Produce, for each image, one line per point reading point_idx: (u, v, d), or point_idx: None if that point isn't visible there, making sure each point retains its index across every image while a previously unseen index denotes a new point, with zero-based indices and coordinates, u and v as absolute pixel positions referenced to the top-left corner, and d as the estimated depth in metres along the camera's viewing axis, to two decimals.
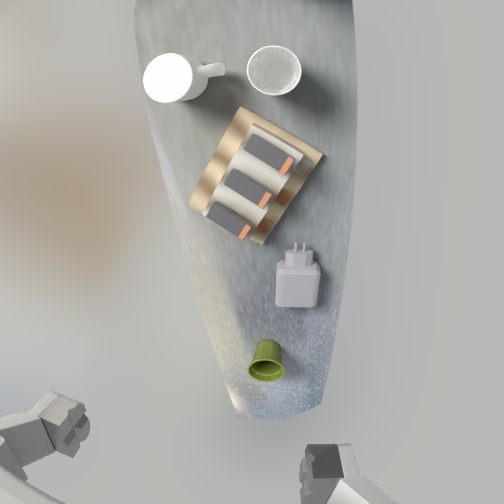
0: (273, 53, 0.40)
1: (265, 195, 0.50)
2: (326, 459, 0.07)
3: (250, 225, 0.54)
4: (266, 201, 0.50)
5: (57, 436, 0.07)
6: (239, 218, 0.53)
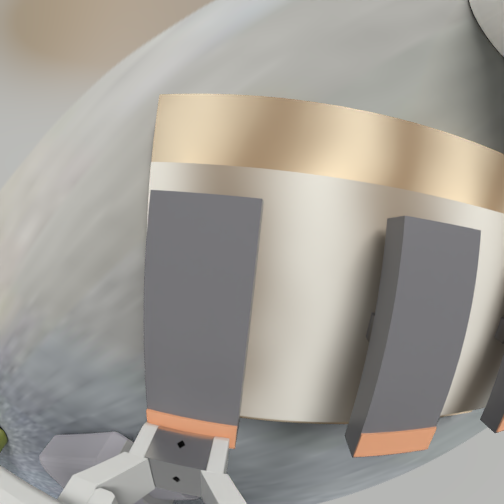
0: None
1: (416, 434, 0.08)
2: (195, 448, 0.08)
3: (236, 433, 0.09)
4: (394, 450, 0.08)
5: (166, 474, 0.07)
6: (242, 385, 0.08)
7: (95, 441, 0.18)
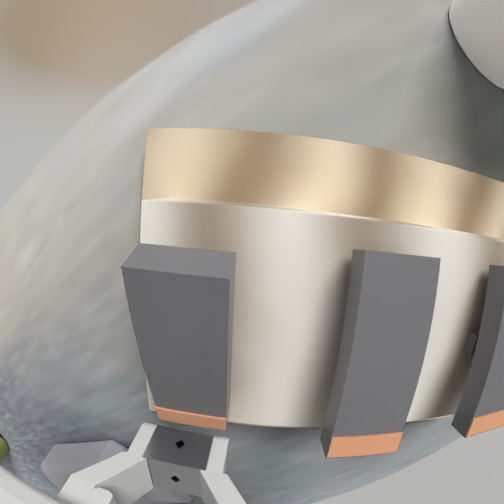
0: None
1: (384, 438, 0.09)
2: (195, 448, 0.08)
3: (227, 417, 0.12)
4: (364, 452, 0.09)
5: (164, 473, 0.07)
6: (227, 394, 0.10)
7: (94, 449, 0.19)
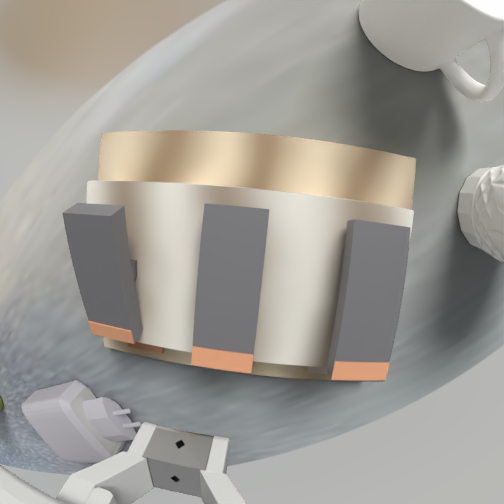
0: None
1: (237, 356, 0.14)
2: (195, 448, 0.08)
3: (136, 334, 0.17)
4: (221, 367, 0.14)
5: (164, 473, 0.07)
6: (127, 307, 0.15)
7: (62, 387, 0.24)
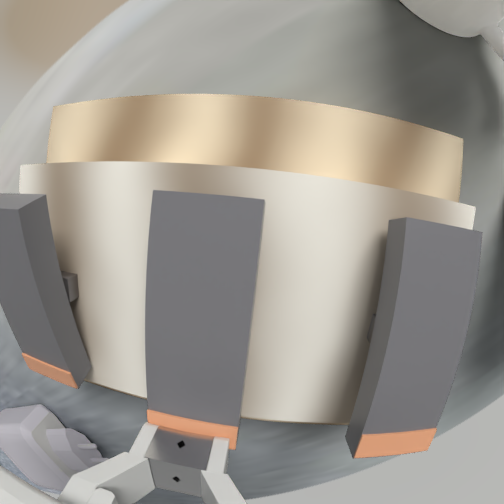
0: None
1: (214, 428, 0.08)
2: (195, 448, 0.08)
3: (80, 375, 0.11)
4: None
5: (166, 474, 0.07)
6: (60, 343, 0.09)
7: (25, 411, 0.18)
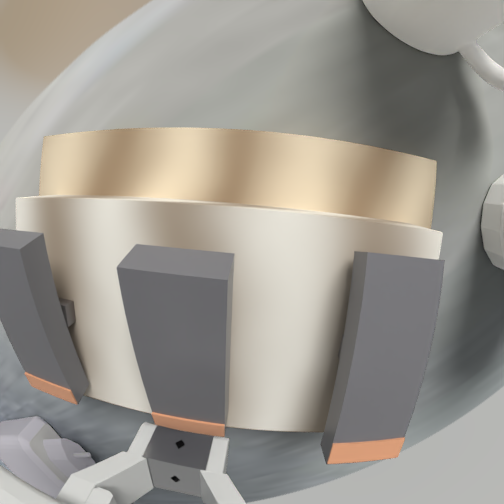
0: None
1: (206, 424, 0.11)
2: (194, 448, 0.08)
3: (79, 392, 0.11)
4: (189, 429, 0.11)
5: (164, 473, 0.07)
6: (61, 364, 0.10)
7: (22, 423, 0.19)
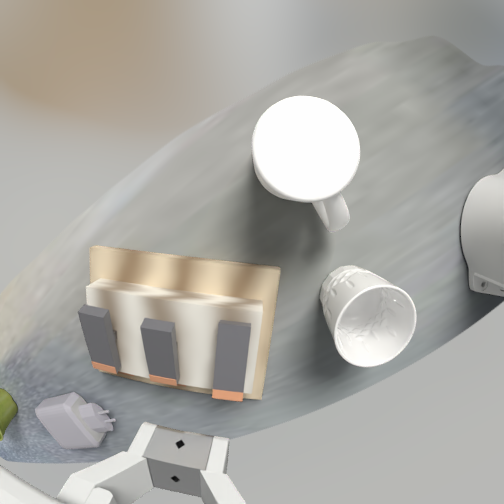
0: (388, 293, 0.28)
1: (169, 379, 0.29)
2: (194, 448, 0.08)
3: (117, 368, 0.30)
4: (163, 382, 0.29)
5: (164, 473, 0.07)
6: (113, 356, 0.28)
7: (64, 397, 0.36)
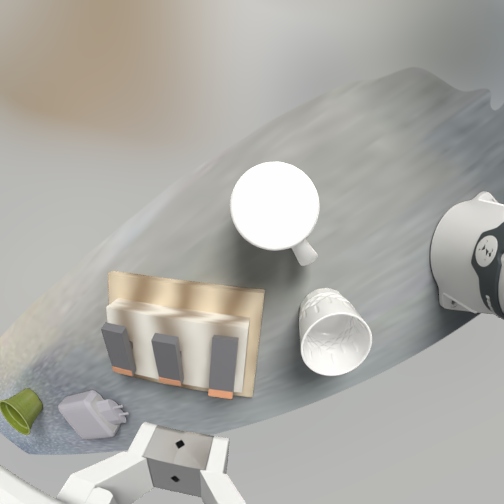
0: None
1: (175, 381, 0.36)
2: (195, 448, 0.08)
3: (133, 372, 0.37)
4: (170, 383, 0.37)
5: (164, 473, 0.07)
6: (129, 362, 0.36)
7: (84, 394, 0.45)
